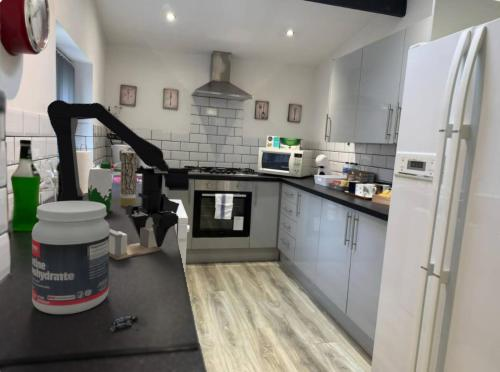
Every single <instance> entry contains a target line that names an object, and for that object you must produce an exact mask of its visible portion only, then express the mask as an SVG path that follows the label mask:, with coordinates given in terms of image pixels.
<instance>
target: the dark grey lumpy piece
mask: <svg viewBox="0 0 500 372" xmlns="http://www.w3.org/2000/svg"><path fill="white" fill-rule="evenodd" d="M140 320H141V318H139V317H137V316H136V315H131V316H130V315H127V316H120V318H116V319H115V320H114V321H113V322H112V324H111V327H110V328H109V332H110V333H112V334H115V333H117V332H119V331H124V330H126V329H130V328H132V326H133V324H134V323H137V322H139V321H140ZM130 333H132V331H130Z"/></svg>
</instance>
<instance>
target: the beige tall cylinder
mask: <svg viewBox="0 0 500 372" xmlns="http://www.w3.org/2000/svg"><path fill="white" fill-rule="evenodd" d="M137 162H138V155H137V154H136V153H135V152H134V151H133V150H132V151H129V150H121V151H120V184H119V185H120V191H119V194H120V198H119V205H120V207H122V208H126V207H127V206H128V205H131V204H137V177H138V174H135V171H136V170H138V165H137V164H138V163H137Z"/></svg>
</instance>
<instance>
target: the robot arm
mask: <svg viewBox="0 0 500 372" xmlns="http://www.w3.org/2000/svg"><path fill="white" fill-rule="evenodd" d="M46 112H47V115H48V116H47V117H48V119H49V122H50V125H51V128H52V129H53V132H54V133H55V136H56V137H55V138H56V141H57V142H56V143H57V144H56V145H57V154H58V162H59V172H60V180H61V193H60V198H59V201H58V202H60V201H88V192H85V193H83V191H82V188H81V185H80V175H79V167H78V166H79V165H78V157H77V156H78V155H77V154H78V153H77V146H76V133H77V128H78V124H79V123H78V121H79V120H89V119H91V120H92V119H96V120H97V121H98V122H100V123H101V124H102V125H103V126H105V127H106V128H107V129H108V130H110V131H111V132H112V133H113V134H115V135H116V136H117V137H118V138H120V139H121V141H123V142H124V143H126V145H128V146H129V147H130V148H131V149H132V151H133V152H135V153H136V154H137V158H139V159H140V160H141V161H142V162H143V163H144V164H145V165H146V166H147V167H144V166H143V165H142V164H141V165H140V166H139V168H137V170H136V171H135V174H137V175H141V191H140V192H138V193H137V194H138V195H137V196H138V197H139V198H140V203H136V204H131V205H128V206H127V207H125V215H127V218H128V219H129V220H130V222H131V224H132V226H133V228H134V230H135V232H136V234H137V236H138V239H139V240H140V228H144V227H147V221H148V219H150V218H151V219H152V223H153V224H151V226H152V227H153V232H154V236H155V240H156V244H157V246H156V247H158V248H161V247H162V246H163V244H164V242H165V241H164V240H165V238H166V236H167V234H168V231H169V230H170V229H171V227H172V228H173V227H174V226H175V225H178V224H179V218H180V217H179V216H178V214H177V213H178V210H179V206H180V203H178V202H176V201H173V200H169V197H168V196H167V195H166V194H165V193H163V181H164V187H165V188H166V189H168V191H169V192H171V191H175V192H176V191H177V192H188V191H189V187H190V179H189V168H188V167H170V166H169V163H167V161H166V160H165V159H164V152H163V149H162V148H160V147H159V146H157V145H156V144H154V143H152V142H150V141H148V140H147V139H145V138H143V137H141V136H139V134H137V133H136V132H135V131H133V130H132V129H131V128H130V127H128V125H126V124H125V123H124V122H123V121H121V120H120V119H119V118H118V117H117V116H115V115H114V114H113V113H112V112H111V111H109V109H107V107H106V106H105V105H103V103H102V104H101V103H99V102H92V103H83V102H82V103H79V102H78V103H70V102H68V101H65V100H62V99H61V100H60V99H56V100H54V101H52V102H50V103H49V105H48V106H47V110H46ZM156 169H158V170H159V171H156ZM163 176H164V177H165V178H164V177H163Z"/></svg>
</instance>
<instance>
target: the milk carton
mask: <svg viewBox="0 0 500 372" xmlns="http://www.w3.org/2000/svg"><path fill="white" fill-rule="evenodd" d="M112 177H113V176H112V163H111V162H110V163H109V162H108V163H107V162H103V163H102V162H101V163H100V167H98V166H97V167H89V172H88V178H87V193H88V201H92V202H98V203H102V204H104V205H105V206H106V212H107V213H110V212H111V206H112V205H111V204H112V194H113V191H112V189H113V188H112V187H113V184H112V183H113V180H112Z"/></svg>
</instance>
